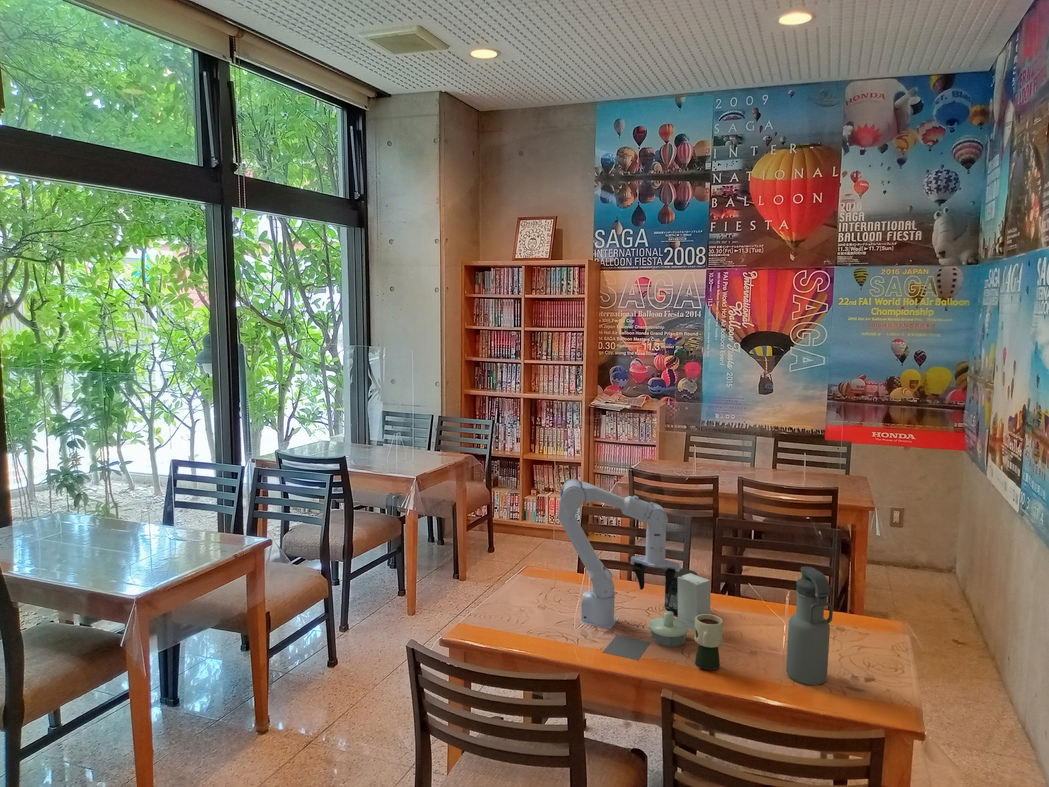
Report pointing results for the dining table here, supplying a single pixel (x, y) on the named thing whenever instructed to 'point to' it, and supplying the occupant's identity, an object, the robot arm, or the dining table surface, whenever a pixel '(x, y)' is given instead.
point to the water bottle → (809, 630)
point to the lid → (668, 626)
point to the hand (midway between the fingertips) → (654, 590)
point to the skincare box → (692, 598)
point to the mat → (626, 647)
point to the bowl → (668, 640)
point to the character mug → (708, 640)
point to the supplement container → (675, 591)
